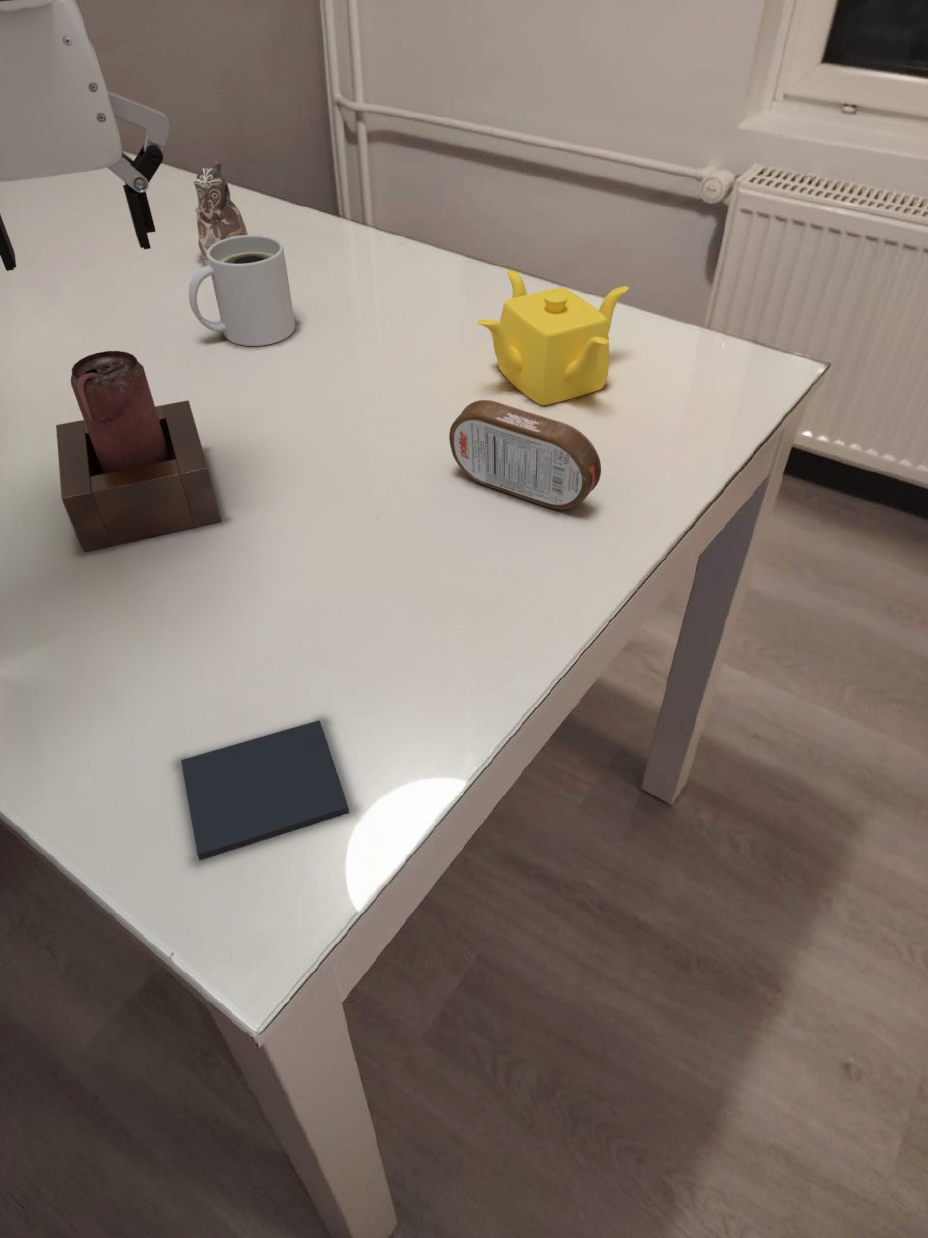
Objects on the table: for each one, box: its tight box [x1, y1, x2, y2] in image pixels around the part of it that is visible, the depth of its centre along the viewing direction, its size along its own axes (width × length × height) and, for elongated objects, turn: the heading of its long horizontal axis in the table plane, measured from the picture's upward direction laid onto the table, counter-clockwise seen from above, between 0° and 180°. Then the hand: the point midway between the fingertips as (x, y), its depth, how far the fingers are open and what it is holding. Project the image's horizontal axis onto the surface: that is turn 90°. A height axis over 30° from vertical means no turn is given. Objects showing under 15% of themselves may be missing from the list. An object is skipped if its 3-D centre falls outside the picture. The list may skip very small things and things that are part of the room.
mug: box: [188, 234, 296, 347], centre depth 105 cm, size 11×10×10 cm
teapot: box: [476, 269, 630, 406], centre depth 96 cm, size 15×14×10 cm
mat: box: [180, 719, 350, 860], centre depth 60 cm, size 10×8×1 cm
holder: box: [55, 399, 222, 553], centre depth 81 cm, size 12×12×6 cm
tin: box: [448, 399, 602, 510], centre depth 81 cm, size 15×3×8 cm, turn 59°
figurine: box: [193, 161, 249, 266], centre depth 120 cm, size 7×7×12 cm
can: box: [70, 350, 170, 474], centre depth 79 cm, size 6×6×14 cm
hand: (78, 252), depth 65 cm, fingers open, 9 cm apart
